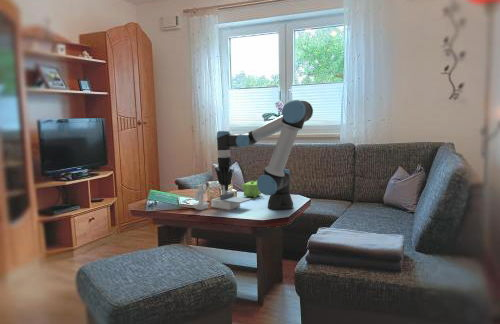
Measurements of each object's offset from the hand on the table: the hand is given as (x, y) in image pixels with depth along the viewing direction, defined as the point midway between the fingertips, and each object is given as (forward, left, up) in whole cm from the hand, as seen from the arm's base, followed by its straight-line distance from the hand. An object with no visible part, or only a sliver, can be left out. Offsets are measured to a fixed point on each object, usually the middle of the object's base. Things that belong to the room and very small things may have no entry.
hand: (225, 195), depth 219 cm
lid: (-8, 0, -2) cm, 8 cm away
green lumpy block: (+4, -34, -7) cm, 35 cm away
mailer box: (0, 0, -7) cm, 7 cm away
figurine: (+9, +11, -7) cm, 16 cm away
